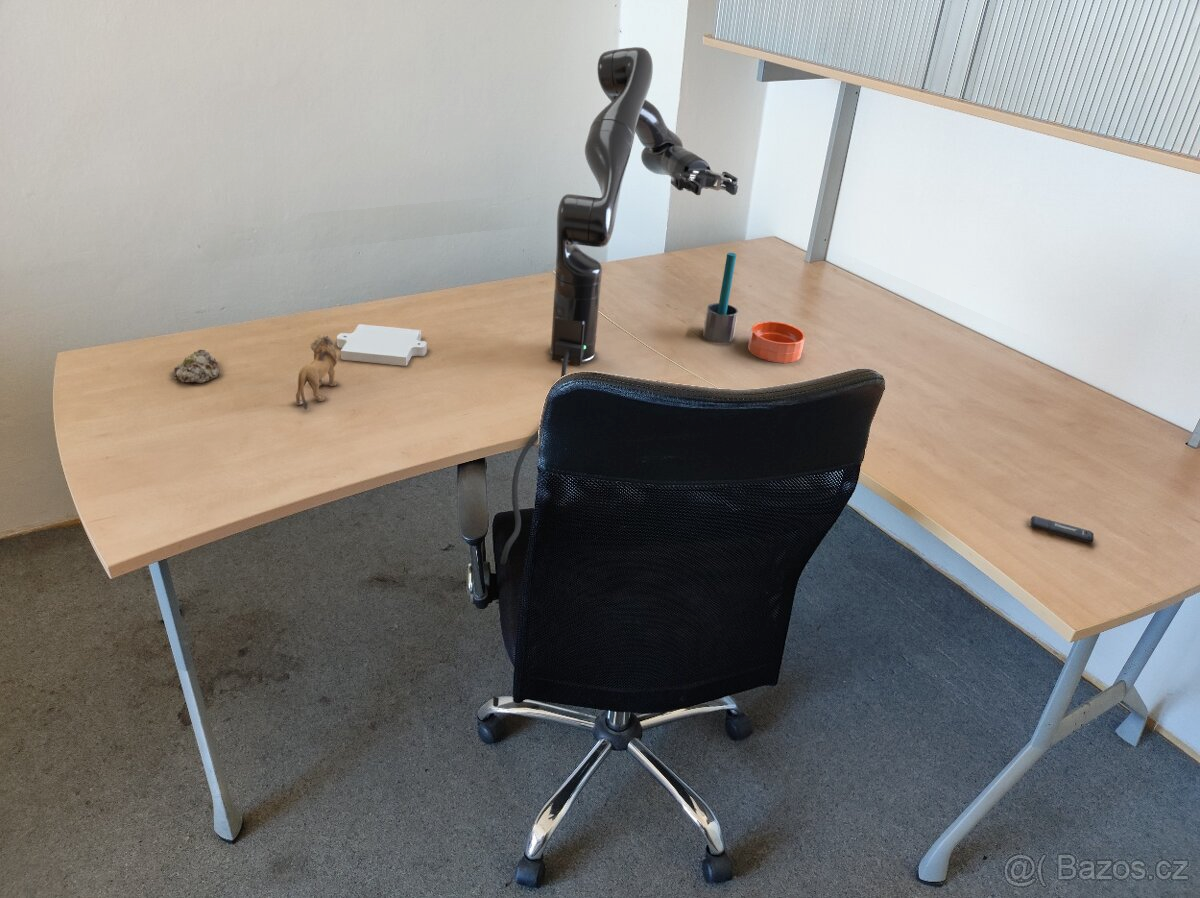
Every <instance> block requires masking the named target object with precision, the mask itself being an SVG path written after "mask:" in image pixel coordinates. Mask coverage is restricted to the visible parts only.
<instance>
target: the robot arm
mask: <svg viewBox="0 0 1200 898" xmlns="http://www.w3.org/2000/svg"><path fill="white" fill-rule="evenodd" d="M652 58H653V57H652V55H651V53H650V52H649V50H647V49H646V48H644V47H640V46H639V47H638V46H634V47H625V48H617V49H611V50H607V51H604V52H603V53H601V54H600V55H599V58H598V60H597V79H598V82H599V85H600V88H601V90H602V92H603V93H604V95H605V96H606V97H607V98H608V100H610V103H608V105H606V106H605V107H604V108H603V109H602V110H600V112H599V113H598V114H597V115H596V116H595V118H594V119H593V121H592V123H591V125H590V127H589V130H588V134H587V138H586V142H585V145H584V156H585V160H586V162H587V165H588V167H589V170H590V171H591V173H592V175H593V177H594V178H595V180H596V182H597V185H598V187H599V190H600V193H601V196H600V197H595V196H588V195H581V194H572V193H567V194H564V195H563V196H562V197H561V199H560V201H559V202H558V203H559V204H558V207H557V213H556V214H557V215H556V257H555V278H554V279H555V280H554V281H555V282H554V293H553V306H552V307H553V309H552V321H551V341H550V351H549V355H550V356H551V360H552V361H555V362H561V363H562V365H561V373H560V378H561V377H562V376H564V375H567V367H568V364H569V365H574V366H578V367H579V366H581V365H582V364H586V363H589V362H592V361H593V360H594V359H595V357H596V343H597V332H598V318H599V309H600V296H601V289H602V288H601V287H602V277H603V266H602V264H601V263H600V262H599V261H598V260H597V259H596V258H594V257H592V256H590V255H588V254H587V253H585V252H584V251H583V250H581V249H580V248H579V247H578V246H583V247H584V246H585V247H592V248H604V247H606V246H607V245H608V244H609V243H610V241H611V238H612V235H613V232H614V227H615V223H616V218H617V212H618V206H619V200H620V194H621V189H622V185H623V180H624V177H625V173H626V169H627V166H628V163H629V160H630V156H631V151H632V148H633V145H634V141H635V135H636V136H637V138H638V140H639V142H640V143H641V145H642V146H643V147H644V148H643V149H642V151H641V154H640V158H641V163H642V164H643V166H644V167H645V168H646V169H647V170H648V171H649V172H651V173H653V174H655V175H661V176H669V177H670V178H671V179H670V184H671V185H672V186H673V187H674V188H676V189H677V191H683V190H684V189H685V190H686V191H687V192H691V193H693V194H694V195H696V196H701V193H702V190H703V189H705V190H708V189H710V190H714V191H716V192H717V191H721V190H723V191H726V192H727V193H729V195H732V196H736V195H737V193H738V189H739V186H738V181H739V178H738V177H736V176H735V175H732V174H731V173H729V172H727V171H722V173H718V172H714V170H712V169H711V167H710V165H709V163H708V162H707V161H706V160H705V159H703V158H702V157H700V156H698V155H697V154H695V153H694V152H692V151H689V150H687V149H685V148H684V144H683V141H682V139H681V138H680V137H679V136H678V135H677V134H676V133H675V132H674V131H672V130H670V128H668V126H667V124H666V122H665V120H664V118H663V116H662V114H661V112H660V110H658V108H657V107H656V106H655V105H654V104H653V103H651V102H650V101H649V100H647V96H648V93H649V91H650V87H651V84H652V79H653V70H654V69H653V68H654V67H653V66H654V65H653V59H652ZM538 430H539V428H538V429H537V430H536V431H535V432H534V434H533V435H532V436H531V437H530V439H528V441H527V442H526V443H525V445H524V447H523V448H522V451H521V452H520V454H519V457H518V458H517V461H516V464H515V467H514V471H513V474H512V475H513V476H512V482H511V502H512V511H513V514H514V529H513V530H514V531H513V532H512V534H511V535H510V537H508V540H507V541H506V542H505V545H504V547H503V550H502V553H501V556H500V564H501V565H506V564H507V561H508V556H509V553H510V550H511V548H512V546H513V544H514V543H515V541H516V540H517V539H518V537H519V535H520V532H521V528H522V518H521V517H522V516H521V512H520V507H519V496H518V495H519V494H518V489H519V488H518V485H519V482H518V481H519V477H520V472H521V468H522V464H523V462H524V460H525V458H526V455H527V454H528V452H529V450H530V449H531V447H532V446H533V445H534V443H535V442H536V441H537V439H538V438H539V437H538ZM499 699H500V698H499V697H497V696H493V698H492V700H493V701H492V706H493V707H494V708H497V707H499V702H500V701H499Z"/></svg>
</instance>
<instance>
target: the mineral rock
mask: <svg viewBox="0 0 1200 898" xmlns="http://www.w3.org/2000/svg"><path fill="white" fill-rule="evenodd" d="M219 373H220V366H219V362H218V361H217V359H216V358H215V357H213V355H211V352H209V351H206V349H198V350H196V351H194V352H193V353H192V354H190V355H188V356H187V357H184V360H183V361H182V363H181V364H178V365H176V366H175V367H173V375H174V379H175V380H179V381H181V382H182V383H197V384H202V383H205V382H208V381H210V380H212V379H215V378H217V377H218V375H219Z"/></svg>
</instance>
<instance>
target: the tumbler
mask: <svg viewBox="0 0 1200 898" xmlns="http://www.w3.org/2000/svg"><path fill="white" fill-rule="evenodd" d="M718 306H719V302H715V303H710V304H708V305H707V307H706V311H705V318H704V325H703V330H702V336H703V337H704V339H706V340H707V341H710V342H712V343H713V342H714V343H720V344H726V343H730V342H732V341H733V339H734V338H735V333H736V332H735V331H736V325H737V320H738V314H739V310H738V308H737V307H735V306H733V305H731V304H728V307H727V313H726V315H722V314H717V312H718Z"/></svg>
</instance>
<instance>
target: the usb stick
mask: <svg viewBox="0 0 1200 898" xmlns="http://www.w3.org/2000/svg"><path fill="white" fill-rule="evenodd" d="M1030 526H1031V527H1032V528H1033V529H1037V530H1039V531H1043V532H1046V533H1050V534H1055V535H1058V536H1061V537H1064V538H1069V539H1073V540H1077V541H1080V542H1085V543H1088V544H1090V543H1093V542H1094V540H1095V538H1094V537H1095V536H1094V532H1092V530H1089V529H1085V528H1081V527H1077V526H1074V525H1071V524H1066V523H1063V522H1059V521H1055V520H1051V519H1047V518H1044V517H1040V516H1037V515H1032V516H1031V518H1030Z"/></svg>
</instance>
